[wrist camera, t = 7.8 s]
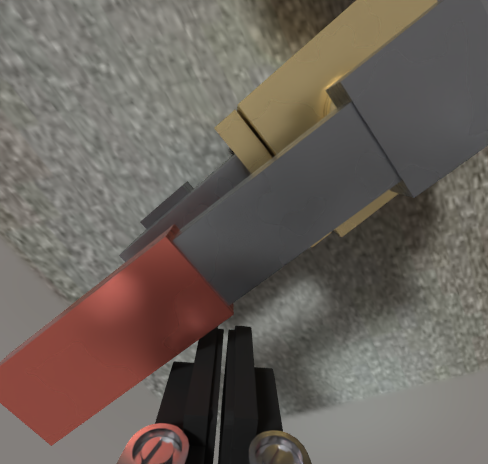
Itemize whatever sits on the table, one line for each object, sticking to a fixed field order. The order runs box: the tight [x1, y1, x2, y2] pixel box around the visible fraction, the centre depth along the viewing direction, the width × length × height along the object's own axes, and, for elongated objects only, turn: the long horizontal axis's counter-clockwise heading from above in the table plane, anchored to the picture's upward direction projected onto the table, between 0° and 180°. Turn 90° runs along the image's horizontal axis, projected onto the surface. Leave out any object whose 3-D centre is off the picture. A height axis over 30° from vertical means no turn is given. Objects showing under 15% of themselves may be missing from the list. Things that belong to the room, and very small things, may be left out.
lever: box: [0, 0, 488, 446], centre depth 9 cm, size 15×3×3 cm, turn 128°
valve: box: [119, 0, 488, 262], centre depth 15 cm, size 22×6×9 cm, turn 130°
